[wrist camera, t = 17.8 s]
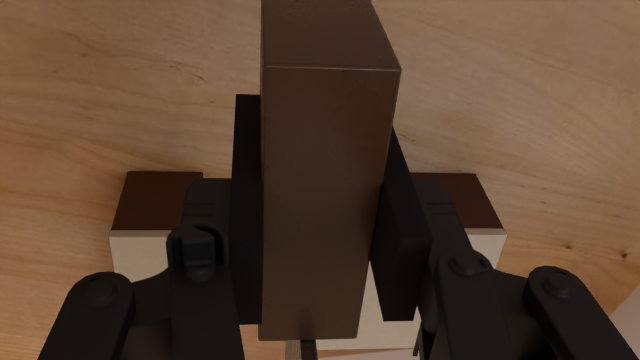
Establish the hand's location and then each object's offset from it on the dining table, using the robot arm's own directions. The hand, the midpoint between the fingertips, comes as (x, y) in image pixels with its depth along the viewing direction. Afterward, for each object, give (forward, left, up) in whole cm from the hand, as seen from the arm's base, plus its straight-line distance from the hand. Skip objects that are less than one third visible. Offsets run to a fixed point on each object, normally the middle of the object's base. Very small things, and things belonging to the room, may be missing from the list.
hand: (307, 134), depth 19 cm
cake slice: (-17, +7, -14) cm, 23 cm away
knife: (-7, 0, -1) cm, 7 cm away
